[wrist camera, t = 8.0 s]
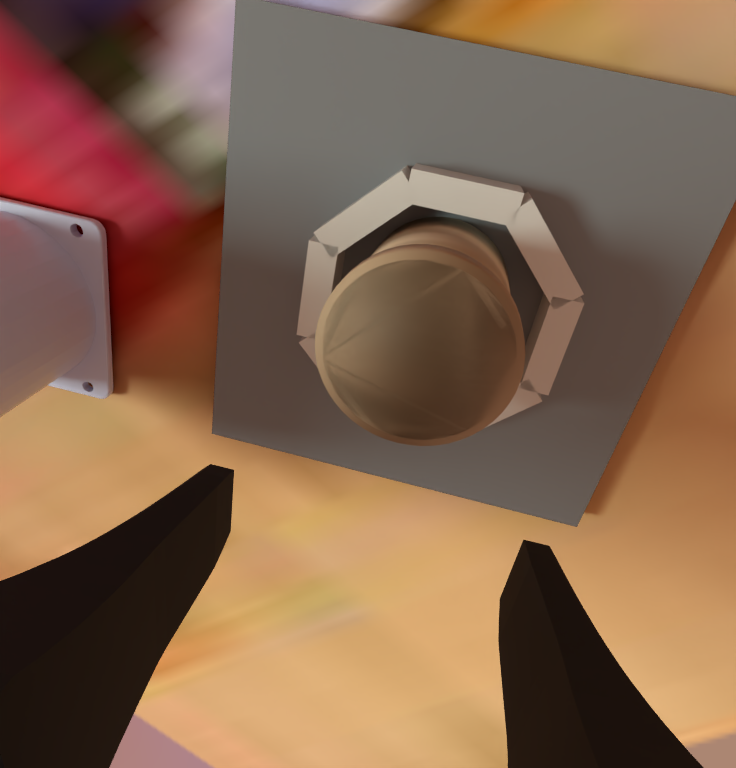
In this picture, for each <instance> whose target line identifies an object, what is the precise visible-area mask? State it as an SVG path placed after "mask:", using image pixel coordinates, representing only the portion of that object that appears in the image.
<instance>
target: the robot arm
mask: <svg viewBox="0 0 736 768" xmlns="http://www.w3.org/2000/svg"><path fill="white" fill-rule="evenodd" d="M77 224H78V225H80V227H81V228H82V230H83V235H82V234H80V233H79V232H78V230H77ZM88 382H89V383H91V384H92V385H93V387H91V386H90V385H89V384H88ZM47 385H49V386H53V387H56V388H60V389H64V390H68V391H72V392H76V393H80V394H84V395H88V396H92V397H96V398H100V399H104V398H107V397H108V396H109V395H111V394H112V392H113V368H112V347H111V325H110V303H109V282H108V260H107V239H106V231H105V228H104V227H103V225H102V224H101V223H100V222H99V221H97V220H95V219H92V218H88V217H84V216H79V215H75V214H71V213H67V212H62V211H58V210H54V209H49V208H45V207H41V206H36V205H32V204H28V203H24V202H19V201H15V200H11V199H6V198H2V197H0V417H1V416H3V415H4V414H6V413H7V412H9V411H10V410H12V409H13V408H15V407H16V406H18V405H19V404H21V403H22V402H24V401H25V400H27V399H28V398H29V397H31V396H32V395H34V394H35V393H37V392H38V391H40V390H41V389H43V388H44V387H46V386H47ZM233 478H234V470H232V469H228V468H224V467H220V466H216V465H212V464H210V465H209V466H207V467H205V468H204V469H202V470H201V471H200V472H198V473H197V474H195V475H194V476H193V477H191V478H190V479H188V480H187V481H186V482H184V483H183V484H181V485H180V486H179V487H177V488H176V489H174V490H173V491H171V492H170V493H169V494H167V495H166V496H164V497H163V498H161V499H160V500H158V501H157V502H155V503H154V504H152V505H151V506H149V507H148V508H146V509H145V510H143V511H142V512H140V513H138V514H137V515H135V516H134V517H132V518H130V519H129V520H127V521H125V522H124V523H122V524H120V525H119V526H117V527H115V528H114V529H112V530H110V531H109V532H107V533H105V534H103V535H101V536H100V537H98V538H96V539H94V540H92V541H90V542H89V543H87V544H85V545H83V546H81V547H79V548H77V549H75V550H73V551H71V552H69V553H67V554H64V555H62V556H60V557H58V558H56V559H53V560H51V561H49V562H46V563H44V564H41V565H39V566H37V567H34V568H32V569H30V570H27V571H25V572H23V573H20V574H18V575H15V576H13V577H10V578H7V579H5V580H2V581H0V768H109V767H110V765H111V762H112V760H113V758H114V755H115V753H116V751H117V749H118V746H119V744H120V742H121V740H122V738H123V735H124V733H125V731H126V729H127V727H128V725H129V722H130V720H131V718H132V716H133V714H134V712H135V710H136V707H137V705H138V703H139V701H140V699H141V697H142V695H143V693H144V691H145V689H146V686H147V684H148V682H149V680H150V678H151V676H152V674H153V672H154V670H155V668H156V666H157V664H158V662H159V660H160V658H161V656H162V655H163V653H164V651H165V649H166V647H167V646H168V644H169V642H170V641H171V639H172V637H173V636H174V634H175V632H176V631H177V629H178V627H179V626H180V624H181V622H182V621H183V619H184V618H185V616H186V614H187V613H188V611H189V609H190V608H191V606H192V604H193V603H194V601H195V599H196V598H197V596H198V594H199V593H200V591H201V589H202V588H203V586H204V584H205V583H206V581H207V579H208V578H209V576H210V574H211V572H212V571H213V569H214V567H215V565H216V563H217V561H218V559H219V556H220V554H221V552H222V550H223V547H224V545H225V543H226V541H227V538H228V536H229V534H230V531H231V514H232V496H233ZM499 653H500V665H501V677H502V688H503V699H504V710H505V721H506V732H507V749H508V768H703V767H702V766H701V765H700V763H699V762H698V761H696V759H695V758H694V757H693V756H692V755H691V754H690V753H689V752H688V750H687V749H686V748H685V747H684V746H683V745H682V743H681V742H680V741H679V740H678V739H677V738H676V737H675V735H674V734H673V733H672V732H671V731H670V730H669V728H668V727H667V726H666V725H665V724H664V723H663V721H662V720H661V719H660V718H659V717H658V715H657V714H656V713H655V712H654V710H653V709H652V708H651V707H650V705H649V704H648V703H647V702H646V700H645V699H644V698H643V696H642V695H641V694H640V692H639V691H638V690H637V688H636V687H635V686H634V685H633V683H632V682H631V681H630V679H629V678H628V677H627V675H626V674H625V672H624V671H623V670H622V668H621V667H620V665H619V664H618V662H617V661H616V659H615V658H614V656H613V655H612V653H611V652H610V650H609V649H608V647H607V646H606V644H605V643H604V641H603V639H602V638H601V636H600V635H599V633H598V632H597V630H596V628H595V627H594V625H593V623H592V621H591V620H590V618H589V616H588V615H587V613H586V611H585V610H584V608H583V606H582V605H581V603H580V601H579V599H578V598H577V596H576V594H575V592H574V590H573V589H572V587H571V585H570V583H569V581H568V579H567V578H566V576H565V574H564V572H563V570H562V568H561V566H560V565H559V563H558V561H557V559H556V557H555V555H554V553H553V551H552V550H551V548H550V546H547V545H543V544H539V543H535V542H531V541H527V540H523V542H522V545H521V547H520V550H519V552H518V555H517V557H516V560H515V562H514V565H513V567H512V570H511V572H510V575H509V577H508V580H507V582H506V585H505V587H504V590H503V592H502V595H501V597H500V610H499Z"/></svg>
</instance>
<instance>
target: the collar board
mask: <svg viewBox="0 0 736 768" xmlns="http://www.w3.org/2000/svg"><path fill="white" fill-rule="evenodd" d="M735 201H736V96H733V95H728V94H723V93H718V92H713V91H708V90H703V89H698V88H693V87H688V86H683V85H678V84H673V83H668V82H663V81H658V80H653V79H648V78H643V77H639V76H634V75H629V74H624V73H619V72H614V71H609V70H604V69H599V68H594V67H589V66H584V65H579V64H574V63H569V62H564V61H559V60H554V59H549V58H544V57H539V56H534V55H530V54H525V53H520V52H515V51H510V50H505V49H500V48H495V47H490V46H485V45H480V44H475V43H470V42H465V41H460V40H455V39H450V38H445V37H440V36H435V35H430V34H426V33H421V32H416V31H411V30H406V29H401V28H396V27H391V26H386V25H381V24H376V23H371V22H366V21H361V20H356V19H351V18H346V17H341V16H336V15H331V14H326V13H321V12H317V11H312V10H307V9H302V8H297V7H292V6H287V5H282V4H277V3H272V2H267V1H262V0H236V6H235V24H234V42H233V61H232V79H231V97H230V115H229V133H228V152H227V170H226V188H225V206H224V224H223V243H222V261H221V279H220V297H219V315H218V333H217V352H216V370H215V388H214V406H213V424H212V434H215V435H219V436H223V437H227V438H231V439H235V440H239V441H243V442H247V443H251V444H255V445H259V446H262V447H266V448H270V449H274V450H278V451H282V452H286V453H290V454H294V455H298V456H302V457H305V458H309V459H313V460H317V461H321V462H325V463H329V464H333V465H337V466H341V467H345V468H348V469H352V470H356V471H360V472H364V473H368V474H372V475H376V476H380V477H384V478H388V479H392V480H395V481H399V482H403V483H407V484H411V485H415V486H419V487H423V488H427V489H431V490H435V491H438V492H442V493H446V494H450V495H454V496H458V497H462V498H466V499H470V500H474V501H478V502H481V503H485V504H489V505H493V506H497V507H501V508H505V509H509V510H513V511H517V512H521V513H525V514H528V515H532V516H536V517H540V518H544V519H548V520H552V521H556V522H560V523H564V524H568V525H571V526H575V527H577V526H578V524H579V521H580V519H581V517H582V515H583V513H584V511H585V509H586V507H587V505H588V503H589V501H590V499H591V497H592V495H593V493H594V491H595V489H596V487H597V484H598V482H599V480H600V478H601V476H602V474H603V472H604V470H605V468H606V466H607V464H608V462H609V460H610V458H611V456H612V454H613V452H614V449H615V447H616V445H617V443H618V441H619V439H620V437H621V435H622V433H623V431H624V429H625V427H626V425H627V423H628V421H629V419H630V417H631V415H632V412H633V410H634V408H635V406H636V404H637V402H638V400H639V398H640V396H641V394H642V392H643V390H644V388H645V386H646V384H647V382H648V380H649V377H650V375H651V373H652V371H653V369H654V367H655V365H656V363H657V361H658V359H659V357H660V355H661V353H662V351H663V349H664V347H665V345H666V342H667V340H668V338H669V336H670V334H671V332H672V330H673V328H674V326H675V324H676V322H677V320H678V318H679V316H680V314H681V312H682V310H683V308H684V305H685V303H686V301H687V299H688V297H689V295H690V293H691V291H692V289H693V287H694V285H695V283H696V281H697V279H698V277H699V275H700V273H701V270H702V268H703V266H704V264H705V262H706V260H707V258H708V256H709V254H710V252H711V250H712V248H713V246H714V244H715V242H716V240H717V238H718V235H719V233H720V231H721V229H722V227H723V225H724V223H725V221H726V219H727V217H728V215H729V213H730V211H731V209H732V207H733V205H734V203H735ZM426 217H448V218H454V219H457V220H461V221H464V222H466V223H468V224H471V225H472V226H474V227H476V228H477V229H479V230H480V231H481V232H483V233H484V234H485V235H486V236H487V237H488V238H489V239H490V240H491V241H492V242H493V243H494V244H495V246H496V247H497V249H498V250H499V252H500V254H501V256H502V257H503V259H504V262H505V265H506V268H507V273H508V278H509V286H510V294H511V296H512V298H513V300H514V302H515V304H516V306H517V309H518V312H519V315H520V318H521V323H522V328H523V334H524V340H525V364H524V370H523V374H522V378H521V381H520V384H519V386H518V389H517V391H516V393H515V395H514V397H513V398H512V400H511V402H510V403H509V405H508V406H507V407H506V408H505V410H504V411H503V412H502V413H501V414H500V415H499V416H498V417H497V418H496V419H495V420H494V421H493V422H492V423H491V424H489V425H488V426H486V427H485V428H484V429H482V430H481V431H479V432H477V433H475V434H473V435H472V436H469V437H467V438H464V439H462V440H459V441H456V442H452V443H448V444H442V445H436V446H414V445H406V444H401V443H396V442H393V441H389V440H386V439H384V438H381V437H379V436H376V435H374V434H372V433H370V432H369V431H367V430H365V429H363V428H362V427H360V426H359V425H358V424H356V423H355V422H354V421H352V420H351V419H350V418H349V417H348V416H347V415H346V414H345V413H343V411H342V410H341V409H340V408H339V407H338V406H337V404H336V403H335V402H334V400H333V399H332V398H331V396H330V395H329V393H328V391H327V389H326V387H325V385H324V383H323V381H322V379H321V376H320V373H319V370H318V366H317V361H316V354H315V334H316V329H317V324H318V320H319V317H320V314H321V311H322V309H323V307H324V305H325V303H326V301H327V299H328V297H329V296H330V294H331V293H332V292H333V290H334V289H335V287H336V286H337V285H338V284H339V283H340V282H341V280H342V279H343V278H344V277H345V276H346V275H347V274H348V273H349V272H350V271H351V270H352V269H353V268H354V267H356V266H357V265H358V264H359V263H361V262H362V261H363V260H365V259H367V258H369V257H370V256H371V255H372V254H373V253H374V251H375V250H376V249H377V248H378V246H379V245H380V244H381V243H382V242H383V240H384V239H385V238H386V237H387V236H388V235H389V234H391V233H392V232H393V231H394V230H396V229H397V228H399V227H401V226H402V225H404V224H406V223H409V222H411V221H414V220H417V219H421V218H426Z"/></svg>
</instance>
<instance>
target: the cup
mask: <svg viewBox="0 0 736 768" xmlns="http://www.w3.org/2000/svg"><path fill="white" fill-rule="evenodd" d="M315 354H316V361H317V366H318V370H319V373H320V376H321V379H322V381H323V383H324V385H325V387H326V389H327V391H328V393H329V395H330V396H331V398H332V399H333V400H334V402H335V403H336V404H337V406H338V407H339V408H340V409H341V410H342V411H343V413H345V414H346V415H347V416H348V417H349V418H350V419H351V420H352V421H354V422H355V423H356V424H358V425H359V426H360V427H362V428H363V429H365V430H367V431H369V432H370V433H372V434H374V435H376V436H379V437H381V438H384V439H386V440H389V441H393V442H396V443H401V444H406V445H414V446H436V445H442V444H448V443H452V442H456V441H459V440H462V439H464V438H467V437H469V436H472V435H473V434H475V433H477V432H479V431H481V430H482V429H484V428H485V427H486V426H488V425H489V424H491V423H492V422H493V421H494V420H495V419H496V418H497V417H498V416H499V415H500V414H501V413H502V412H503V411H504V410H505V408H506V407H507V406H508V405H509V403H510V402H511V400H512V398H513V397H514V395H515V393H516V391H517V389H518V386H519V384H520V381H521V378H522V374H523V370H524V364H525V340H524V334H523V328H522V323H521V318H520V315H519V312H518V309H517V306H516V304H515V302H514V300H513V298H512V296H511V294H510V286H509V278H508V273H507V268H506V265H505V262H504V259H503V257H502V256H501V254H500V252H499V250H498V249H497V247H496V246H495V244H494V243H493V242H492V241H491V240H490V239H489V238H488V237H487V236H486V235H485V234H484V233H483V232H481V231H480V230H479V229H477V228H476V227H474V226H472V225H471V224H468V223H466V222H464V221H461V220H457V219H454V218H448V217H426V218H421V219H417V220H414V221H411V222H409V223H406V224H404V225H402V226H401V227H399V228H397V229H396V230H394V231H393V232H392V233H391V234H389V235H388V236H387V237H386V238H385V239H384V240H383V242H382V243H381V244H380V245H379V246H378V248H377V249H376V250H375V251H374V253H373V254H372V255H371V256H370V257H369V258H367V259H365V260H363V261H362V262H361V263H359V264H358V265H357V266H356V267H354V268H353V269H352V270H351V271H350V272H349V273H348V274H347V275H346V276H345V277H344V278H343V279H342V280H341V282H340V283H339V284H338V285H337V286H336V287H335V289H334V290H333V292H332V293H331V294H330V296H329V297H328V299H327V301H326V303H325V305H324V307H323V309H322V311H321V314H320V317H319V320H318V324H317V329H316V334H315Z"/></svg>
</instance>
